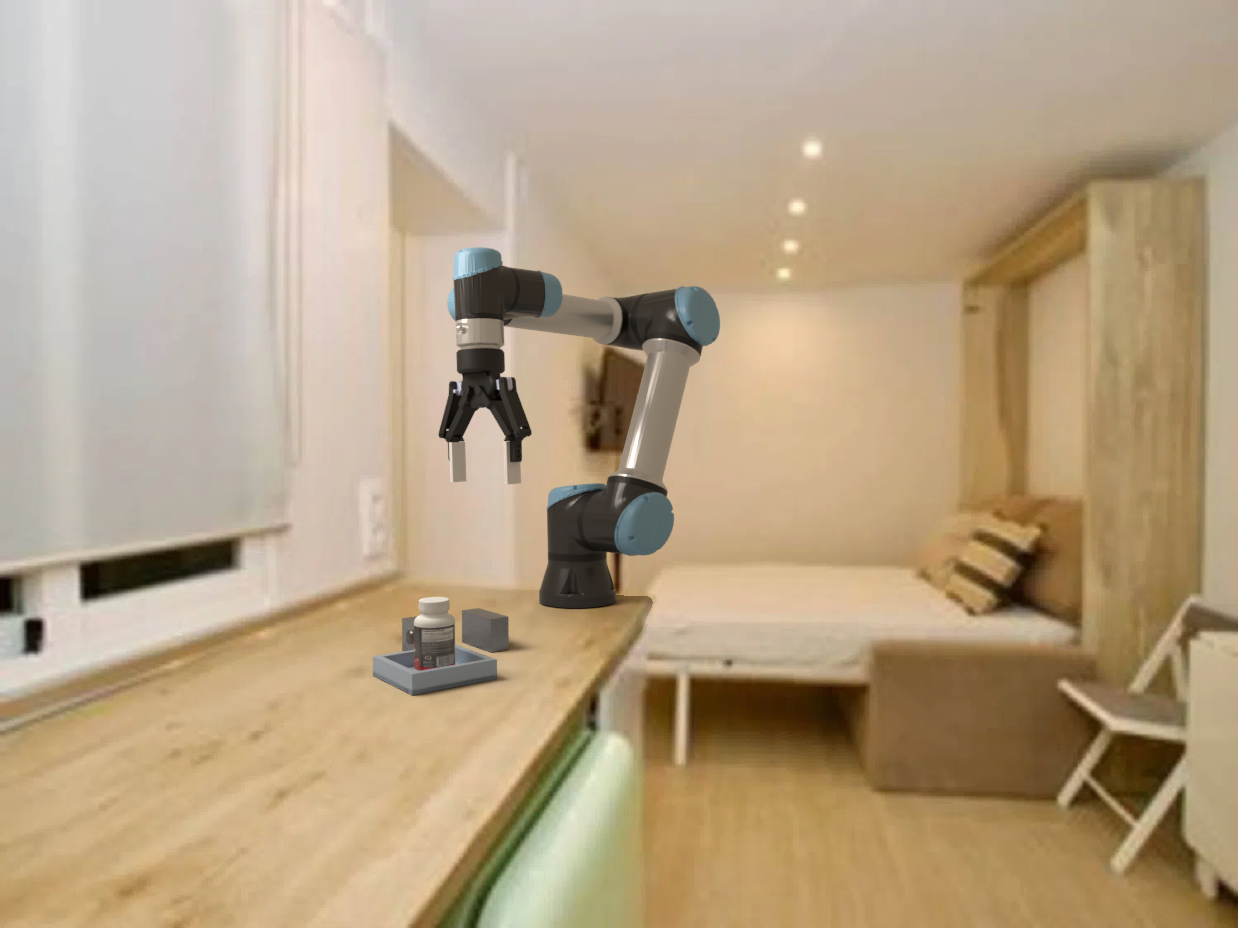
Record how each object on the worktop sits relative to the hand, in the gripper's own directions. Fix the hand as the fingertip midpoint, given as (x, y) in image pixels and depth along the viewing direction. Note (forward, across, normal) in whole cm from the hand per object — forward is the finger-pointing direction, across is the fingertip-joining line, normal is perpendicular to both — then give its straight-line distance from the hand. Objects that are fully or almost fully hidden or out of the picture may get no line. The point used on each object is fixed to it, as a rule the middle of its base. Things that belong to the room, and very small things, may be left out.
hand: (484, 483), depth 138 cm
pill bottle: (+24, +13, -20) cm, 34 cm away
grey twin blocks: (+25, +3, -9) cm, 26 cm away
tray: (+24, +13, -20) cm, 34 cm away
